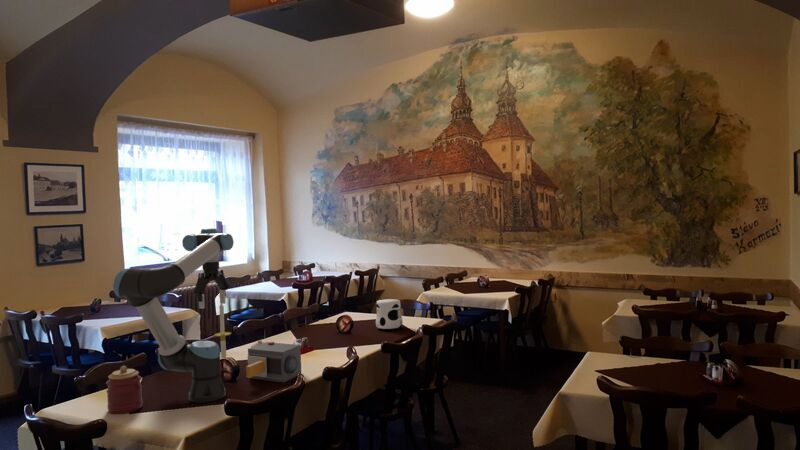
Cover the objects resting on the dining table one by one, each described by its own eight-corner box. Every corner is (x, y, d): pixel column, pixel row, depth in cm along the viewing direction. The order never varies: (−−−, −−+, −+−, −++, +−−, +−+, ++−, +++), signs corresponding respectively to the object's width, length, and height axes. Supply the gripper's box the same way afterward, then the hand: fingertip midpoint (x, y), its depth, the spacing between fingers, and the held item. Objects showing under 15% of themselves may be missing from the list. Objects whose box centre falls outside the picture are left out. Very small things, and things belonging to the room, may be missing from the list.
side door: (250, 384, 254) (249, 364, 254) (232, 381, 259) (231, 362, 258) (267, 376, 265) (266, 357, 265) (250, 374, 269) (249, 355, 269)
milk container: (372, 327, 375) (372, 300, 375) (398, 324, 381) (397, 298, 380) (380, 332, 359) (379, 304, 358) (406, 330, 364) (405, 302, 363)
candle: (213, 366, 294) (210, 303, 292) (214, 361, 303) (211, 300, 302) (233, 364, 296) (231, 301, 295) (234, 359, 306) (231, 299, 305)
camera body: (285, 383, 261) (284, 351, 260) (248, 378, 270) (246, 347, 270) (304, 374, 274) (303, 343, 274) (267, 370, 284) (266, 340, 283)
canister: (148, 402, 241) (146, 361, 240) (134, 413, 228) (132, 369, 227) (116, 404, 240) (114, 362, 240) (101, 415, 227) (99, 371, 227)
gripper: (223, 258, 283) (225, 301, 284) (184, 263, 261) (186, 310, 261) (235, 258, 280) (236, 301, 281) (196, 264, 257) (198, 311, 258)
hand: (212, 306), depth 271 cm, fingers open, 13 cm apart
